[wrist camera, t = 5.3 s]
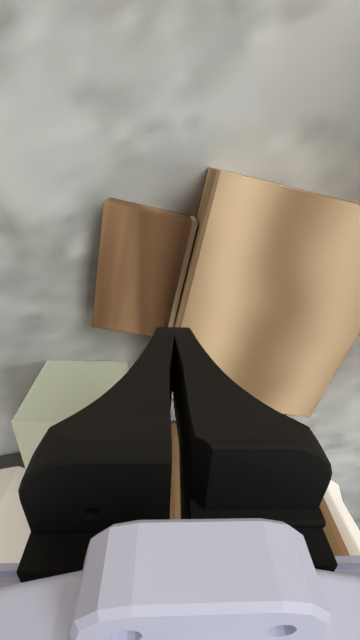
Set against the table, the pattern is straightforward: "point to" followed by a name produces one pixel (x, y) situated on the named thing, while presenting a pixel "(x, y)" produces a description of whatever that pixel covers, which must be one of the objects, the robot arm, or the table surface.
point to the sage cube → (61, 397)
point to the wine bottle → (12, 510)
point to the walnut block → (141, 266)
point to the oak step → (273, 287)
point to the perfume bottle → (343, 519)
